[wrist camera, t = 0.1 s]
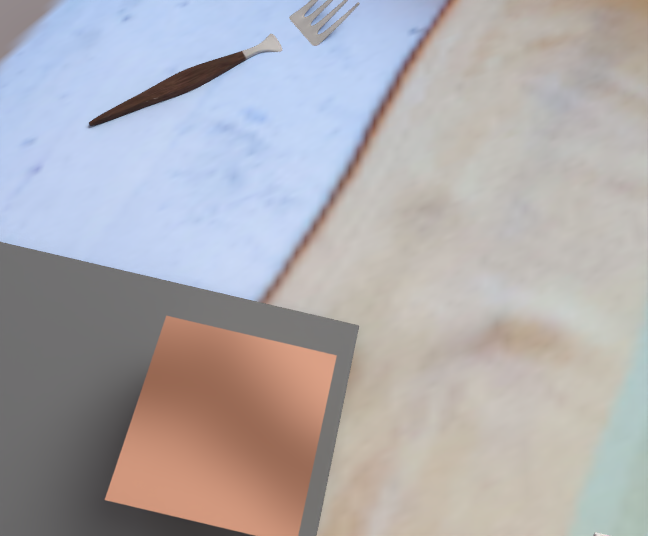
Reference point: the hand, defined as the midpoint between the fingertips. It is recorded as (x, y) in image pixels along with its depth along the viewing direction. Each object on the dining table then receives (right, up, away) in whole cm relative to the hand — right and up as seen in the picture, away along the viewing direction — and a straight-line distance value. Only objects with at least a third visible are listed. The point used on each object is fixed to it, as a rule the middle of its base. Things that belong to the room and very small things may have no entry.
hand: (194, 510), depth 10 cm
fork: (-3, +15, +22) cm, 27 cm away
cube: (-1, -3, +14) cm, 15 cm away
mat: (-7, -2, +15) cm, 17 cm away
